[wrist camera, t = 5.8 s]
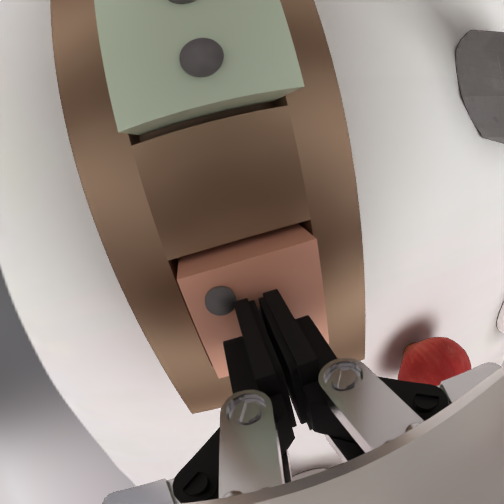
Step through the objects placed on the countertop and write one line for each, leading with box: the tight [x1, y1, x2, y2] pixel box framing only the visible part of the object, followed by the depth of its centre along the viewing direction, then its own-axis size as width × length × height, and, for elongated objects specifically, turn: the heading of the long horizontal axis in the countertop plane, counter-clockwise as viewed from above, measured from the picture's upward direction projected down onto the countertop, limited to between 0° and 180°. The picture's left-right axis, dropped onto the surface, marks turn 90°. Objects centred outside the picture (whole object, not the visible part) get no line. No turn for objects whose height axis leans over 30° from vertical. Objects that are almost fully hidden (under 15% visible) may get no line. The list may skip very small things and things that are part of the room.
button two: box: [94, 0, 305, 135], centre depth 7 cm, size 5×5×3 cm
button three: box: [177, 223, 329, 379], centre depth 12 cm, size 5×5×3 cm
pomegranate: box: [398, 337, 471, 386], centre depth 16 cm, size 6×6×8 cm
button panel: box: [51, 0, 365, 414], centre depth 9 cm, size 32×10×3 cm, turn 13°
